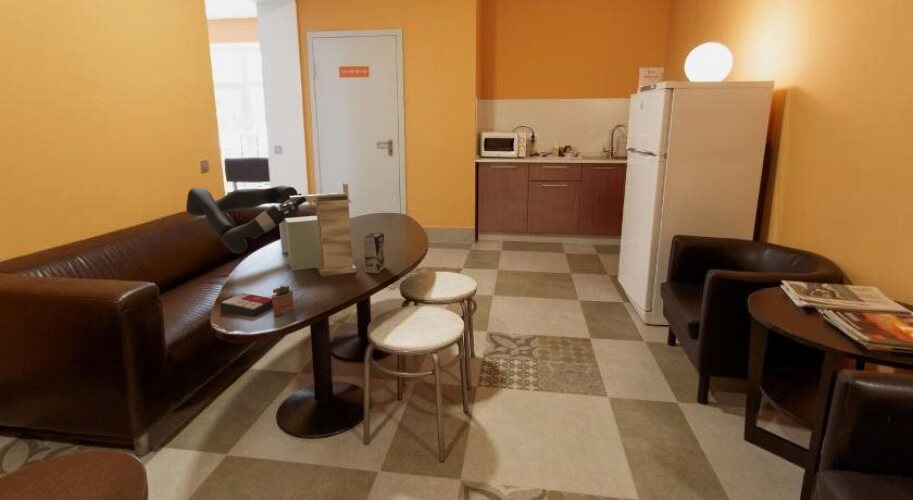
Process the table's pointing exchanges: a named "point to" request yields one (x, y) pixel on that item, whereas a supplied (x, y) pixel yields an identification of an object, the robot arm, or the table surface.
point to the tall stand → (334, 236)
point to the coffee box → (374, 252)
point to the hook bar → (322, 195)
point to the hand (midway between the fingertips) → (303, 196)
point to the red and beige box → (247, 305)
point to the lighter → (282, 301)
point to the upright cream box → (303, 242)
